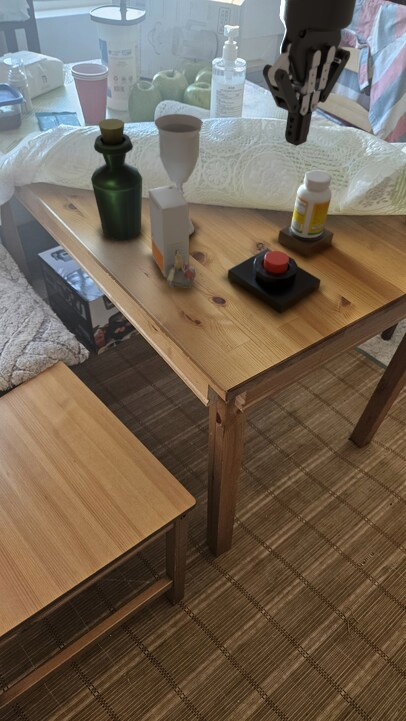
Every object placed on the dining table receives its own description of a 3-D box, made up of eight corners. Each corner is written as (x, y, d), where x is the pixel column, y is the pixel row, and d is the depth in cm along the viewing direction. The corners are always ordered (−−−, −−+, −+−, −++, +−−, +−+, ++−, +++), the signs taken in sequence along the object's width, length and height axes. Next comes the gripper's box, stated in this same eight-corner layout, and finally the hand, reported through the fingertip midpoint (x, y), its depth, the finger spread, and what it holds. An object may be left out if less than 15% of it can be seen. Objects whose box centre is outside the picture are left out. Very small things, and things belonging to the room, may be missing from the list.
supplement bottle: (287, 235, 84) (297, 180, 77) (294, 219, 87) (303, 165, 80) (320, 242, 82) (332, 187, 76) (325, 225, 86) (338, 171, 79)
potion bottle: (123, 212, 92) (113, 108, 79) (155, 229, 88) (150, 123, 75) (88, 230, 87) (71, 123, 74) (120, 249, 84) (109, 140, 71)
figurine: (183, 271, 80) (183, 238, 76) (203, 283, 78) (204, 250, 74) (158, 285, 78) (157, 252, 73) (178, 298, 76) (178, 265, 71)
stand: (331, 244, 87) (334, 231, 85) (307, 258, 84) (309, 245, 82) (302, 228, 90) (304, 215, 88) (277, 241, 87) (279, 228, 85)
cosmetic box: (151, 257, 83) (147, 188, 74) (175, 251, 84) (174, 183, 75) (164, 278, 79) (161, 209, 70) (189, 272, 80) (190, 203, 71)
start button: (292, 268, 76) (294, 258, 75) (276, 277, 75) (277, 267, 73) (274, 257, 78) (276, 247, 77) (258, 266, 77) (259, 256, 75)
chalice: (154, 237, 87) (149, 129, 74) (163, 216, 91) (159, 112, 78) (196, 242, 86) (199, 134, 73) (203, 220, 91) (206, 116, 77)
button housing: (318, 288, 78) (323, 270, 76) (280, 313, 74) (283, 295, 71) (266, 256, 84) (268, 238, 81) (227, 278, 79) (228, 259, 77)
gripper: (310, -18, 45) (283, 169, 58) (393, -34, 51) (352, 138, 64) (250, -32, 49) (236, 146, 61) (334, -45, 55) (306, 119, 68)
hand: (295, 142), depth 63 cm, fingers closed
